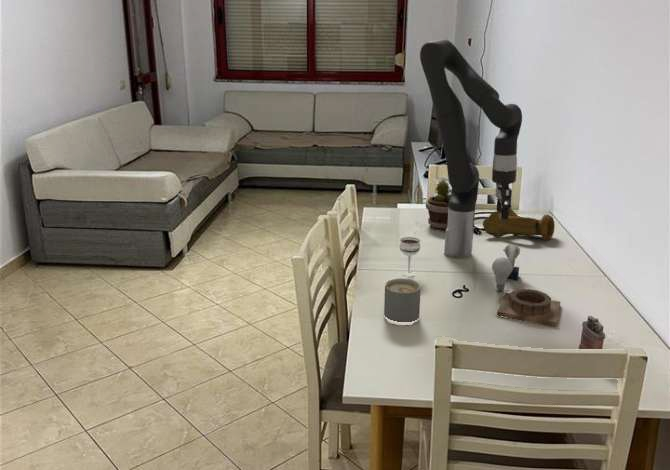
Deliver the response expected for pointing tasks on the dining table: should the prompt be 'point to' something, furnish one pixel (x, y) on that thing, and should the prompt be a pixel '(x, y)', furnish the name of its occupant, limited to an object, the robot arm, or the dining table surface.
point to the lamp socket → (529, 307)
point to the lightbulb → (501, 271)
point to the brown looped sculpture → (518, 225)
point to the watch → (512, 260)
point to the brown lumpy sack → (592, 334)
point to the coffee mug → (402, 300)
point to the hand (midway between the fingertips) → (502, 215)
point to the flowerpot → (439, 207)
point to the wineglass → (409, 247)
